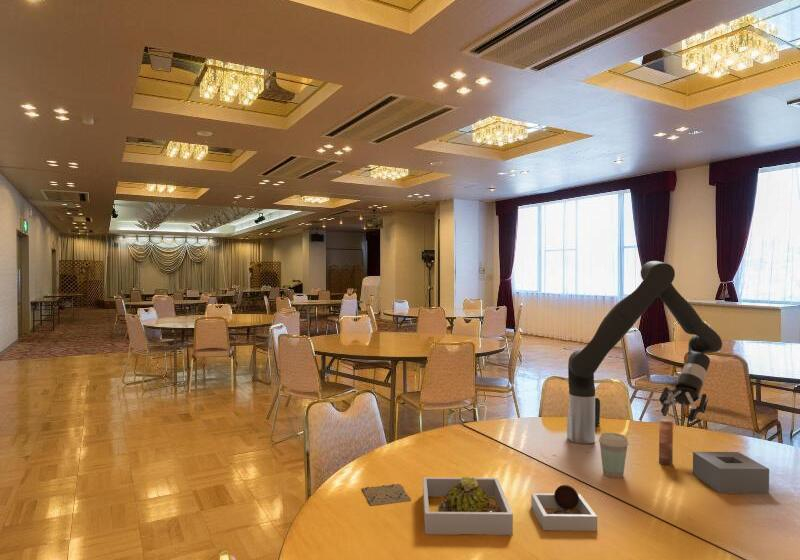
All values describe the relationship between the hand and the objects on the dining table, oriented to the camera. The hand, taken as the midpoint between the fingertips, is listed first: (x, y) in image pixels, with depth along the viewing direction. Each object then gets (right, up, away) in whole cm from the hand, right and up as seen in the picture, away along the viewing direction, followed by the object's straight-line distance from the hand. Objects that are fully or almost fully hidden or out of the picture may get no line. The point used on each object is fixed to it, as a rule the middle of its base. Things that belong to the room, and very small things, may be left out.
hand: (676, 417), depth 177 cm
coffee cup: (-27, -14, -14) cm, 34 cm away
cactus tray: (-77, -14, -40) cm, 88 cm away
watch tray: (-52, -14, -43) cm, 69 cm away
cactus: (-76, -15, -41) cm, 87 cm away
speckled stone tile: (-98, -15, -29) cm, 103 cm away
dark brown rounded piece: (-51, -15, -43) cm, 68 cm away
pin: (-6, -14, -5) cm, 16 cm away
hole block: (+5, -14, -21) cm, 26 cm away
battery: (-15, -13, +38) cm, 43 cm away
